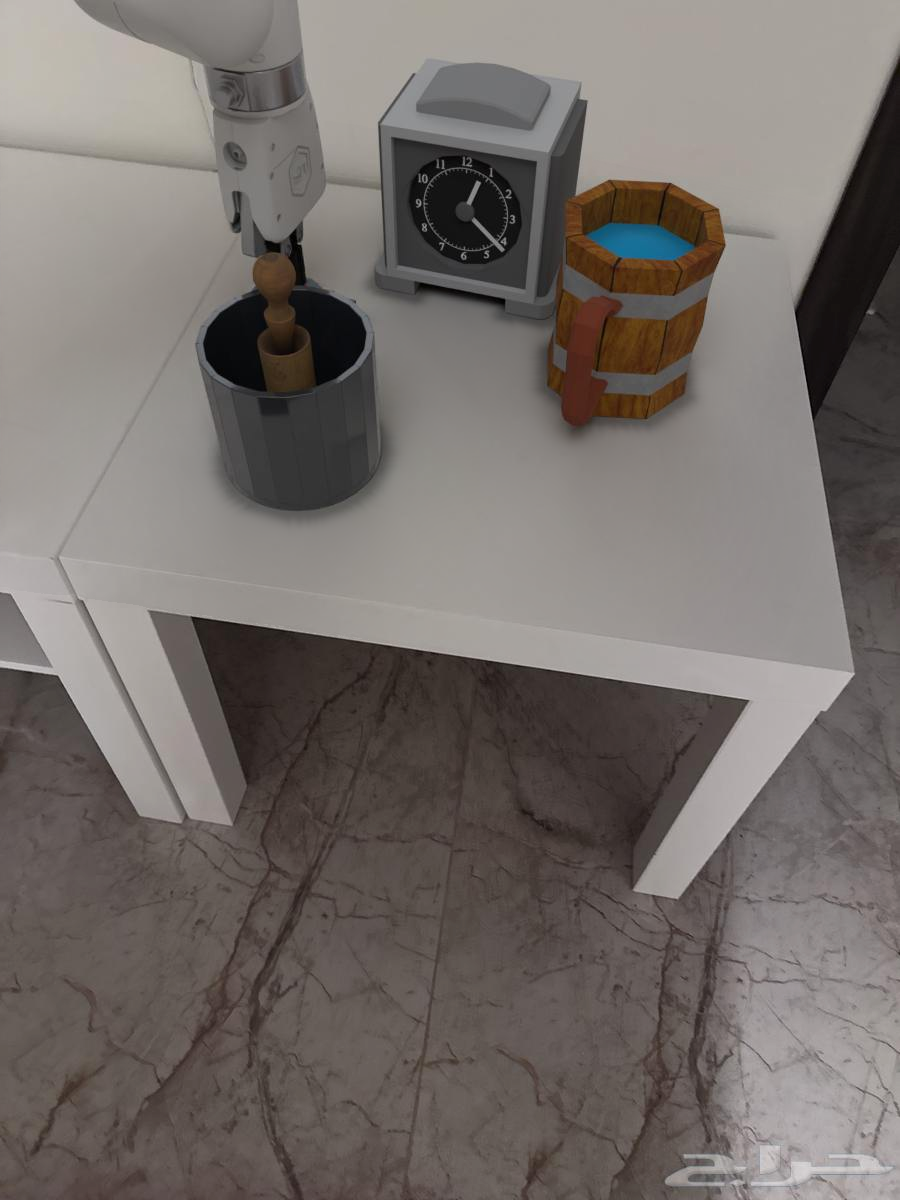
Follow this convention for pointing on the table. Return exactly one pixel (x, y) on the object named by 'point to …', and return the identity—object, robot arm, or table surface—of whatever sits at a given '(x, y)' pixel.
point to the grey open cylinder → (294, 402)
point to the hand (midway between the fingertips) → (287, 284)
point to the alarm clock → (479, 182)
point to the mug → (630, 297)
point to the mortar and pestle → (282, 328)
